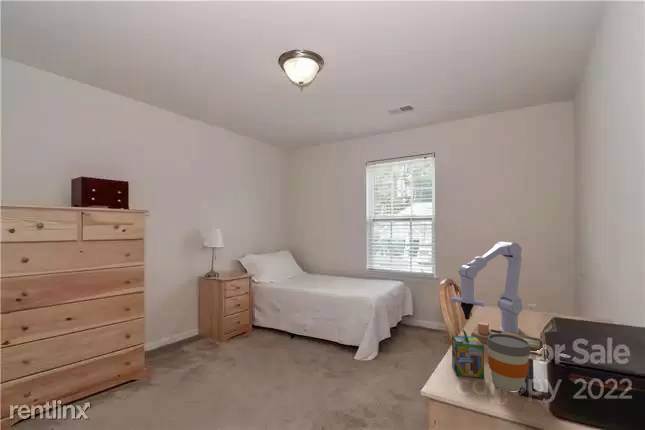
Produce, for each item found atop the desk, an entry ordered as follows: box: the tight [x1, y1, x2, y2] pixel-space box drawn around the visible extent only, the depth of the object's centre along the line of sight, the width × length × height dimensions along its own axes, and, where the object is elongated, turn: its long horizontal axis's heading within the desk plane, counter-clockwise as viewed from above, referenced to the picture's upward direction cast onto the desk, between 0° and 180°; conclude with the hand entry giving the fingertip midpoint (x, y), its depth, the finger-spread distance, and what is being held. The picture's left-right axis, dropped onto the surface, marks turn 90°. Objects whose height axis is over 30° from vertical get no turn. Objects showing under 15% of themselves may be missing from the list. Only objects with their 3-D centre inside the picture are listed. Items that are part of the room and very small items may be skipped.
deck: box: [470, 325, 544, 351], centre depth 143 cm, size 13×27×6 cm, turn 54°
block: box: [477, 320, 490, 334], centre depth 149 cm, size 4×4×4 cm
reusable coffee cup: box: [486, 334, 531, 392], centre depth 106 cm, size 13×13×15 cm
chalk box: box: [451, 328, 485, 379], centre depth 116 cm, size 9×9×15 cm
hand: (467, 318), depth 153 cm, fingers closed
